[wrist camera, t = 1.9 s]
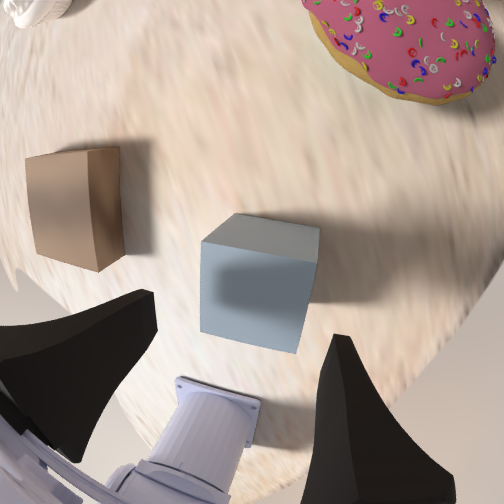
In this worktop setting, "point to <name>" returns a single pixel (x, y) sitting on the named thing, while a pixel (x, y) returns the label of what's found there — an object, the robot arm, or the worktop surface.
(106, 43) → the worktop surface
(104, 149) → the walnut base
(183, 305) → the worktop surface
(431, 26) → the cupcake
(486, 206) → the worktop surface
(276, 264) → the blue cube
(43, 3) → the muffin
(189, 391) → the robot arm
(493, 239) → the worktop surface
